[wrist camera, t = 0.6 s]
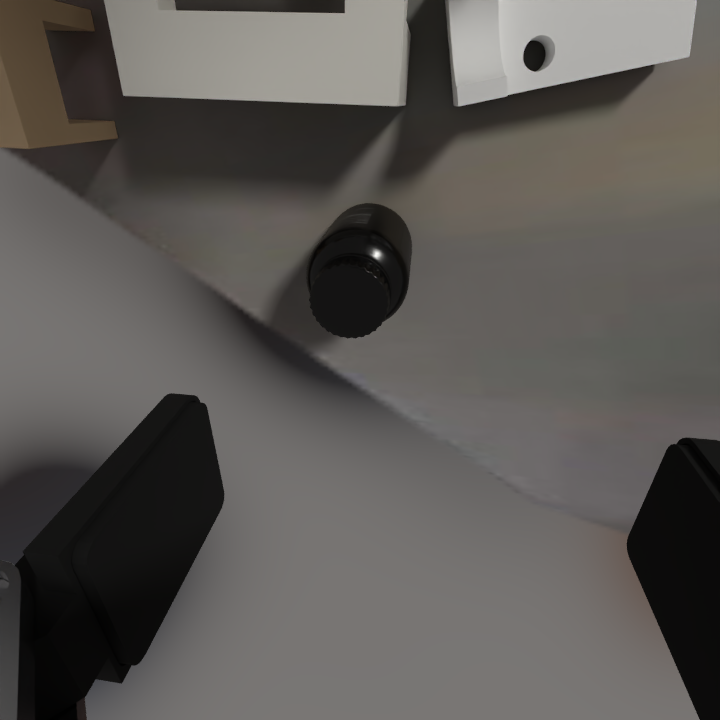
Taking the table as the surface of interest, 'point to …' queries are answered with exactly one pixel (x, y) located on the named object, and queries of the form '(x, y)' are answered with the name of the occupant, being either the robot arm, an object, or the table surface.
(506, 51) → the bracket
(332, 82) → the white frame with rod
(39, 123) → the tan c-channel block
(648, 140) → the table surface
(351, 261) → the supplement bottle
